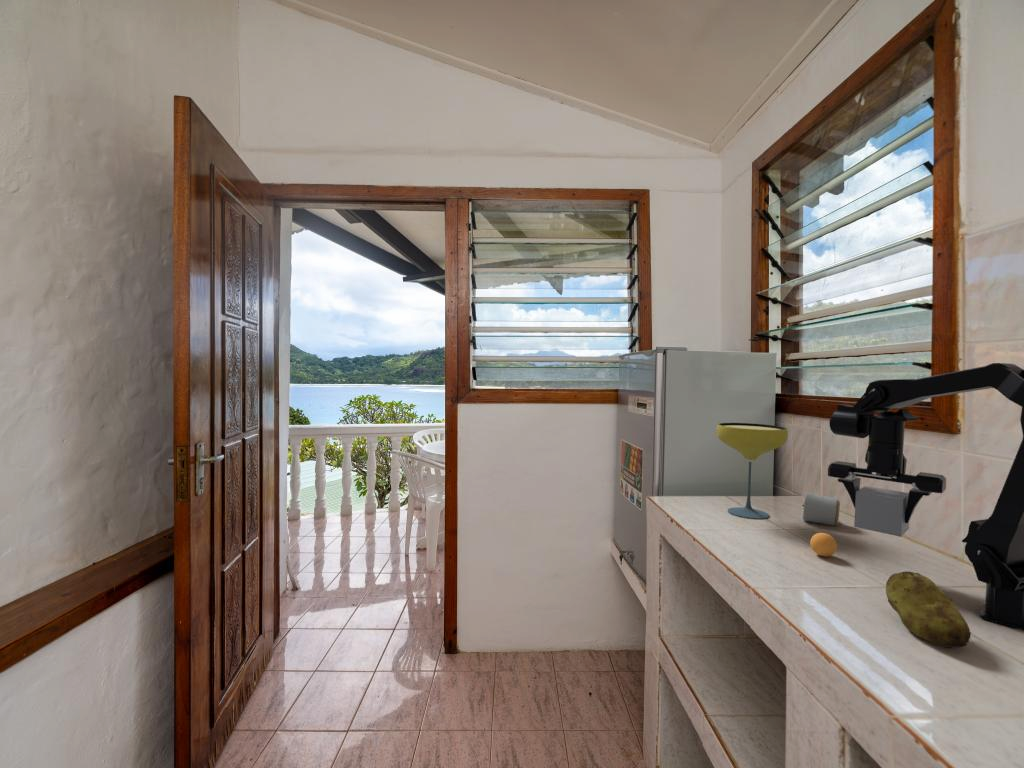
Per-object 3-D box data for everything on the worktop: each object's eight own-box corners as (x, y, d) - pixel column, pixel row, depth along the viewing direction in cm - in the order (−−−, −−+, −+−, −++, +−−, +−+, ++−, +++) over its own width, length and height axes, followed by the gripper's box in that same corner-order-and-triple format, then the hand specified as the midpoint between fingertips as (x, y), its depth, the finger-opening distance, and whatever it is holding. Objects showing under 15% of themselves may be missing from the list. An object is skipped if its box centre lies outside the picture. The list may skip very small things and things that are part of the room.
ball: (832, 561, 107) (833, 538, 107) (806, 555, 111) (807, 532, 111) (839, 556, 111) (840, 533, 111) (813, 550, 114) (814, 528, 114)
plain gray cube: (901, 536, 97) (903, 499, 97) (854, 526, 102) (855, 491, 102) (908, 528, 102) (910, 493, 102) (863, 519, 108) (865, 486, 108)
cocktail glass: (794, 525, 133) (798, 431, 132) (722, 520, 136) (726, 428, 135) (770, 507, 151) (774, 424, 150) (707, 503, 153) (710, 421, 153)
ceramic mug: (838, 529, 130) (840, 500, 130) (802, 523, 135) (803, 495, 135) (839, 520, 139) (840, 493, 139) (805, 515, 144) (806, 488, 144)
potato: (904, 646, 74) (907, 592, 74) (878, 608, 86) (880, 562, 86) (976, 659, 71) (979, 604, 71) (938, 618, 83) (941, 570, 83)
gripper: (951, 444, 100) (947, 521, 101) (843, 433, 114) (840, 501, 115) (944, 449, 93) (939, 532, 93) (828, 437, 106) (825, 510, 107)
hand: (881, 517), depth 102 cm, fingers closed on plain gray cube, 8 cm apart
